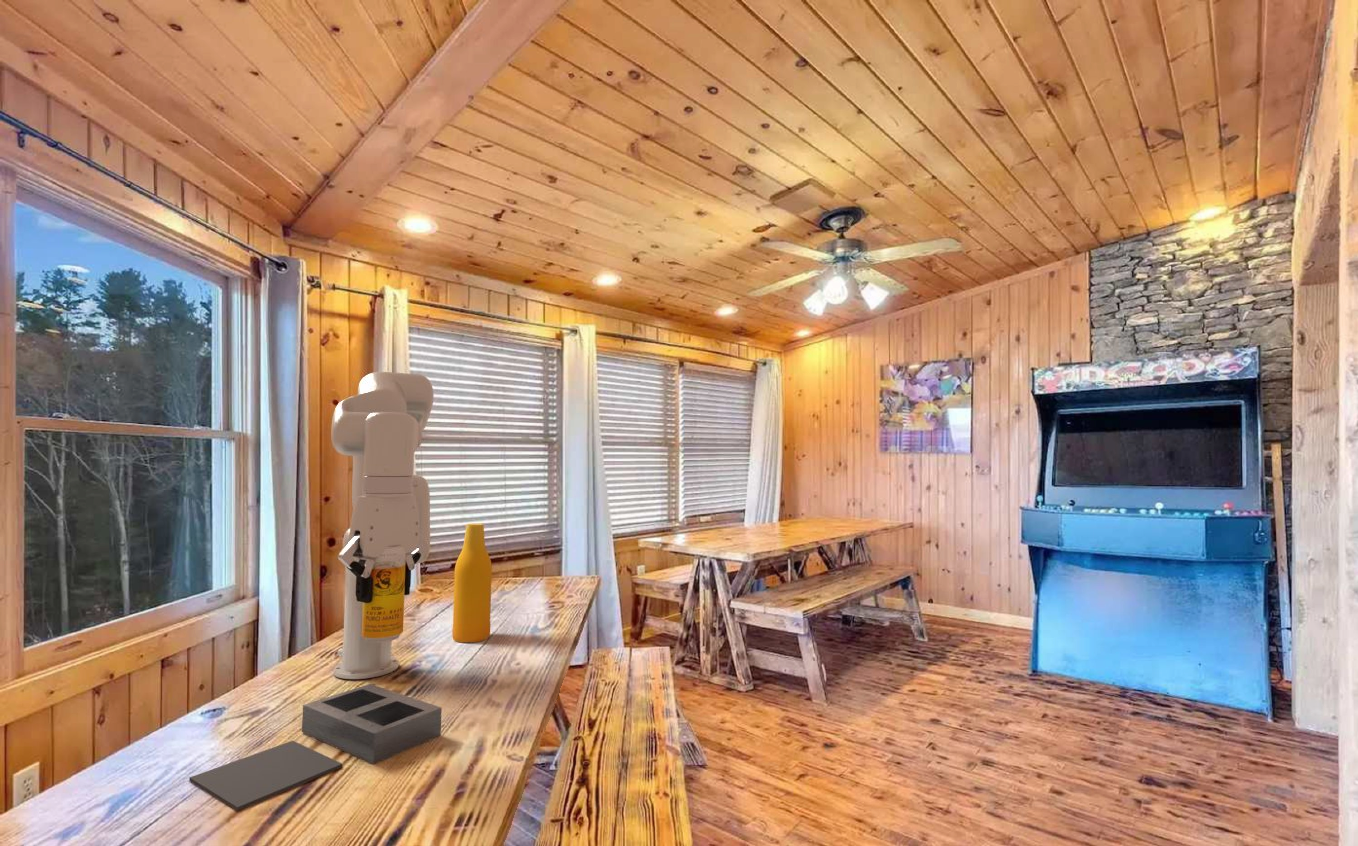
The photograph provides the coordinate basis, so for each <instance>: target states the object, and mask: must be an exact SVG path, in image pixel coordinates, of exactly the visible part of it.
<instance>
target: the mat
mask: <svg viewBox="0 0 1358 846" xmlns="http://www.w3.org/2000/svg"><path fill="white" fill-rule="evenodd" d="M343 765H344V764H343V763H342V762H340V761H338V760H335V759H334V758H331V757H329V756H327V755H324V754H323V753H320V752H318V751H316V750H314V749H312V748H310V747H308V746H305V745H303V744H301V743H299V742H297V741H294V740H290V741H287V742H285V743H281V744H279V745H277V746H274V747H272V748H268V749H266V750H262V751H259V752H257V753H254V754H251V755H248V756H246V757H243V758H240V759H238V760H234V761H231V762H229V763H226V764H224V765H219V766H217V767H214V768H212V769H209V770H206V771H203V772H201V773H198V774H196V775H191V776H190V777H189V778H188V779H189V780H188V781H189V782H190V783H191V784H193V785H195V786H196V787H198V788H200V789H201V790H203V791H204V792H205V793H208V794H209V795H210V796H212V797H214V798H215V799H217V800H218V801H220V802H222V803H224V804H225V805H227V806H228V807H230V808H232V809H233V810H235V811H236V812H238V811H241V810H243V809H246V808H248V807H251V806H253V805H255V804H258V803H260V802H263V801H264V800H268V799H270V798H272V797H274V795H275V796H277V795H280V794H281V792H282V793H284V792H287V791H289V790H291V789H294V788H296V787H299V786H300V785H303V784H305V783H308V782H310V781H313V780H315V779H317V778H319V777H323V776H324V775H328V774H329V773H332V772H334V771H336V770H339V769H342V768H343ZM286 790H287V791H286ZM276 794H277V795H276Z"/></svg>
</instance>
